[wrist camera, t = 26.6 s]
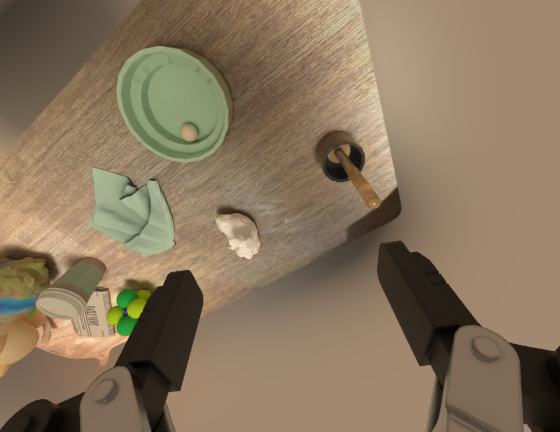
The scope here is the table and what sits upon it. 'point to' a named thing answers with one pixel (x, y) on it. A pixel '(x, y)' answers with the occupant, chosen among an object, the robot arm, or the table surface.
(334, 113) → the table surface
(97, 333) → the newspaper
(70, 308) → the coffee cup
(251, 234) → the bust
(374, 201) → the wooden plunger
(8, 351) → the kitten
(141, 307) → the molecule model
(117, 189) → the cloth
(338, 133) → the crock
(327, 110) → the table surface
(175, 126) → the bowl
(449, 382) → the robot arm
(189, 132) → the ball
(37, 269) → the decorative rock
